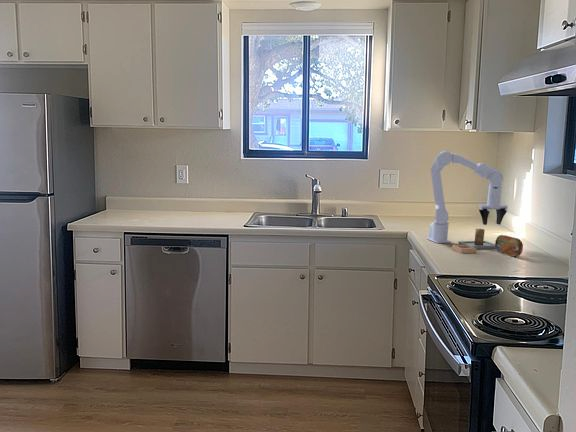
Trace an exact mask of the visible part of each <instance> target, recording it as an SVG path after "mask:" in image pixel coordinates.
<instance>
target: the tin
mask: <svg viewBox="0 0 576 432" xmlns="http://www.w3.org/2000/svg"><path fill="white" fill-rule="evenodd" d="M494 244H495V247H496V249H495V250H496V251H497V252H498V253H499V254H502V255H505V256H509V257H519V256H520V255H522V253H523V249H524V244H523V242H522V240H521V239H520V238H518V237H517V238H516V237H514V236H509V235H503V234H500V235H498V236H497V237H496V239H495V243H494Z"/></svg>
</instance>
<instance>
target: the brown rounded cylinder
mask: <svg viewBox="0 0 576 432" xmlns="http://www.w3.org/2000/svg"><path fill="white" fill-rule="evenodd" d="M484 238H485V229H484V228H475V233H474V241H475V242H474V245H477V246H483V241H485V239H484Z"/></svg>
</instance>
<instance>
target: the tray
mask: <svg viewBox="0 0 576 432" xmlns="http://www.w3.org/2000/svg"><path fill="white" fill-rule="evenodd" d="M474 242H475V240H460V241H459V240H458V242H457V245H469V246H471V247H474V248H476V250H492V249H493V250H496V247H495V243H493V242H490V241H487V240H484V241H483V246H477V245H474Z"/></svg>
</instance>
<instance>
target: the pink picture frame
mask: <svg viewBox="0 0 576 432" xmlns="http://www.w3.org/2000/svg"><path fill="white" fill-rule="evenodd" d="M451 250H452V251H455V252H458V253H459V254H470V253H471V254H472V253H473V254H475V253H476V252H477V249H476V248H474V247H471V246H469V245H458V244H452V245H451Z"/></svg>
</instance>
